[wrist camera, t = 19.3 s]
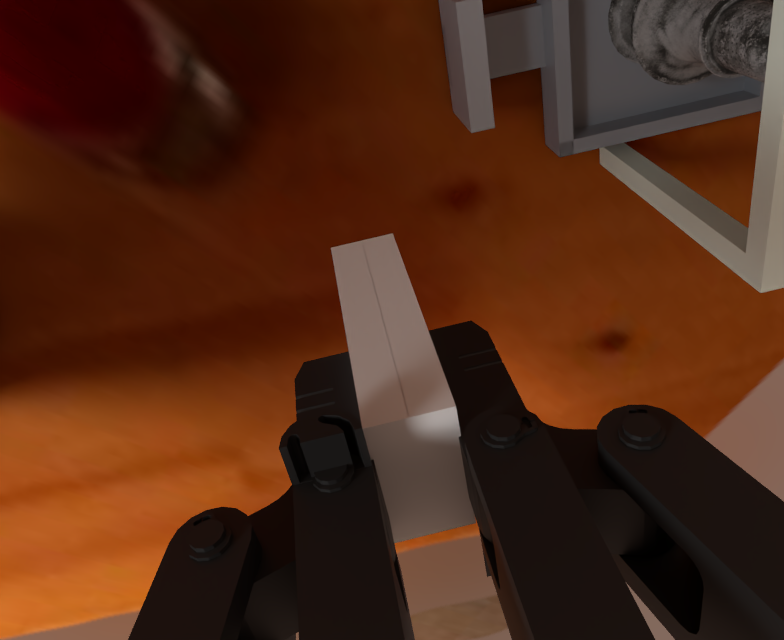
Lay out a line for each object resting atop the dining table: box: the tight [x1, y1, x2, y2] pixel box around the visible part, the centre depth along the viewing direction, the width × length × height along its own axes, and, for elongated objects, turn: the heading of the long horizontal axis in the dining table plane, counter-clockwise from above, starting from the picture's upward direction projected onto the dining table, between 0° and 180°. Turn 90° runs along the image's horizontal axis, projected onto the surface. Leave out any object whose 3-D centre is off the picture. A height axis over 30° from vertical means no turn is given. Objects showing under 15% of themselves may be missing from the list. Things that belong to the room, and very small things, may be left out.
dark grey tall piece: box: [608, 0, 774, 85], centre depth 30 cm, size 6×6×12 cm
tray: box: [438, 0, 764, 157], centre depth 34 cm, size 17×12×4 cm
